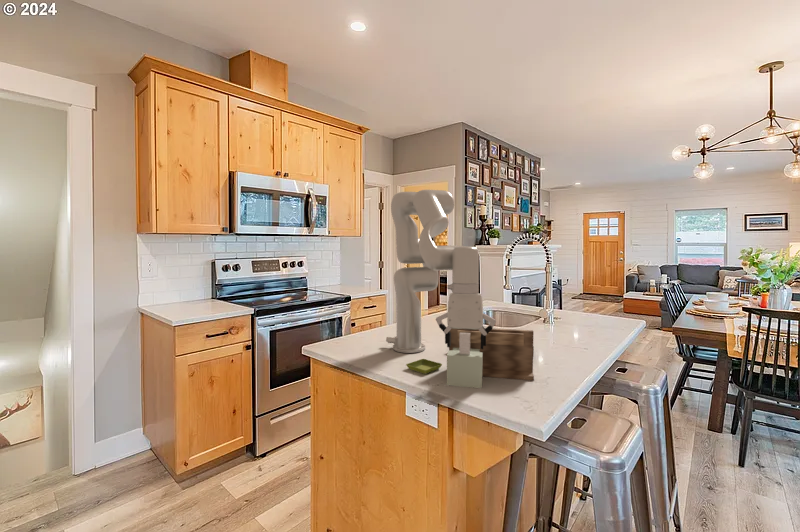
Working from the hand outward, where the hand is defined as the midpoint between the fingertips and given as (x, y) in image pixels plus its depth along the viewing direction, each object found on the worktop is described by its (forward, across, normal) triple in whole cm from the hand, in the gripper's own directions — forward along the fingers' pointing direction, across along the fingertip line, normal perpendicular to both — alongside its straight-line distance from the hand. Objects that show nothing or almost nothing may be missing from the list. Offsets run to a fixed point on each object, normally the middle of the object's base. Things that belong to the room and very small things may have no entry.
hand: (465, 347), depth 116 cm
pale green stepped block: (+11, 0, +2) cm, 11 cm away
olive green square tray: (+11, -14, +10) cm, 21 cm away
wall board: (+11, +7, +10) cm, 16 cm away
